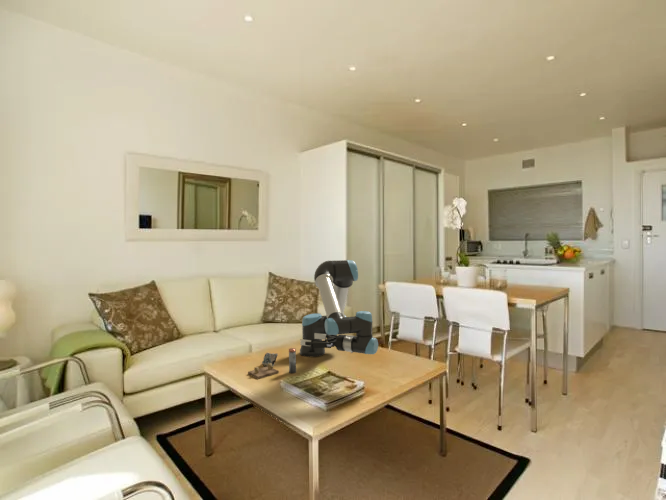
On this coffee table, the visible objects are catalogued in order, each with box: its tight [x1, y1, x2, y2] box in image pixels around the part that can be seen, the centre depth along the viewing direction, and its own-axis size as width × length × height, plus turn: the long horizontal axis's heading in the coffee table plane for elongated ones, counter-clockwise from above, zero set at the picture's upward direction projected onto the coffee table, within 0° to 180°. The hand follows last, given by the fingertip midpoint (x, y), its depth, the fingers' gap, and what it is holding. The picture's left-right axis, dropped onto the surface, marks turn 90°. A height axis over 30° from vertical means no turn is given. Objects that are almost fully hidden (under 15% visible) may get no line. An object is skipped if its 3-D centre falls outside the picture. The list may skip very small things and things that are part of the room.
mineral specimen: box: [261, 352, 278, 368], centre depth 207 cm, size 10×8×10 cm
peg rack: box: [247, 363, 280, 380], centre depth 193 cm, size 12×10×4 cm
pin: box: [288, 347, 297, 374], centre depth 194 cm, size 4×4×12 cm
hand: (307, 338), depth 190 cm, fingers open, 13 cm apart
